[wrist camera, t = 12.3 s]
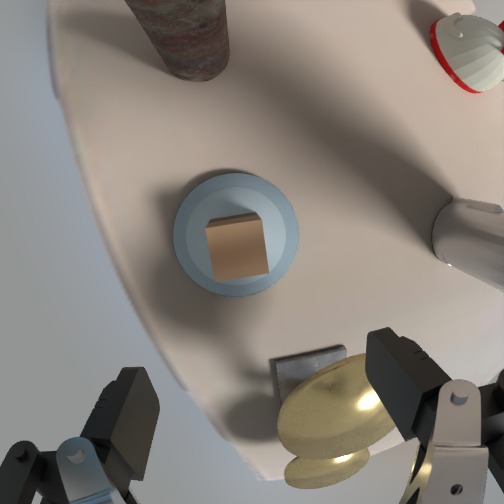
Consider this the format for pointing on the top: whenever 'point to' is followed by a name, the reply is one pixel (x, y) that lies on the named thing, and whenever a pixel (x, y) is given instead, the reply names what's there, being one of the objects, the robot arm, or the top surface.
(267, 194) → the dish
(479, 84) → the kitchen timer
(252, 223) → the walnut block
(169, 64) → the candle
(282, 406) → the balance
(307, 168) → the top surface
